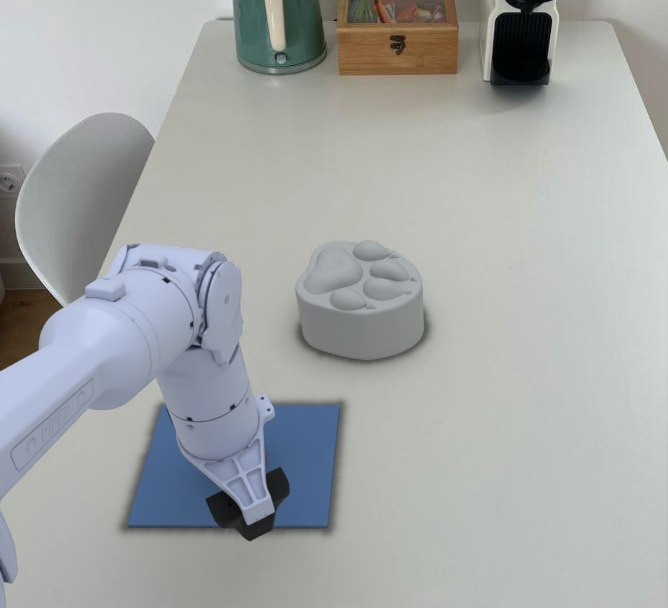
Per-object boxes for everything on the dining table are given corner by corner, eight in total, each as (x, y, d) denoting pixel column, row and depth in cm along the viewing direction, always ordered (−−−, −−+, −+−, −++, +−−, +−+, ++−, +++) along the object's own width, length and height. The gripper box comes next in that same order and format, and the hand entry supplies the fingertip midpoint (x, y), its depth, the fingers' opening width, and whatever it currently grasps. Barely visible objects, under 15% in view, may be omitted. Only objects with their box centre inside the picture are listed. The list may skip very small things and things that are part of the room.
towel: (339, 407, 82) (339, 405, 81) (327, 527, 72) (327, 525, 72) (163, 407, 82) (162, 405, 82) (128, 527, 73) (127, 524, 72)
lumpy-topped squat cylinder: (327, 280, 95) (320, 224, 89) (435, 300, 92) (434, 244, 86) (294, 346, 88) (283, 290, 82) (409, 370, 85) (406, 314, 79)
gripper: (304, 439, 52) (325, 543, 61) (224, 299, 61) (253, 407, 70) (199, 490, 49) (237, 590, 59) (132, 336, 59) (175, 443, 68)
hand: (241, 493), depth 64 cm, fingers open, 7 cm apart
